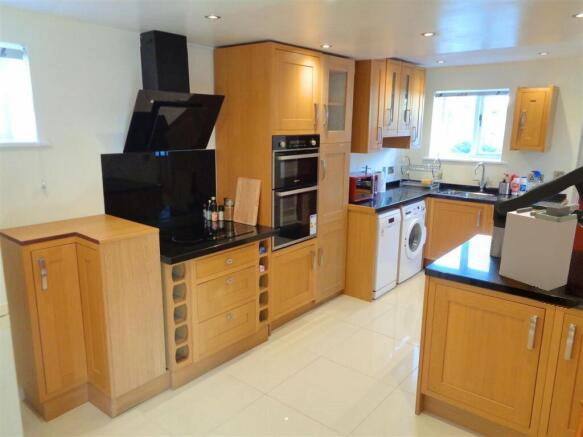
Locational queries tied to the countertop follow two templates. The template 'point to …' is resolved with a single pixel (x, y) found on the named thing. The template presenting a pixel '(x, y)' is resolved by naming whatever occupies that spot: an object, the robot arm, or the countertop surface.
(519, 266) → the cabinet
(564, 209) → the light grey rectangular prism
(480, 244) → the countertop surface
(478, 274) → the countertop surface
